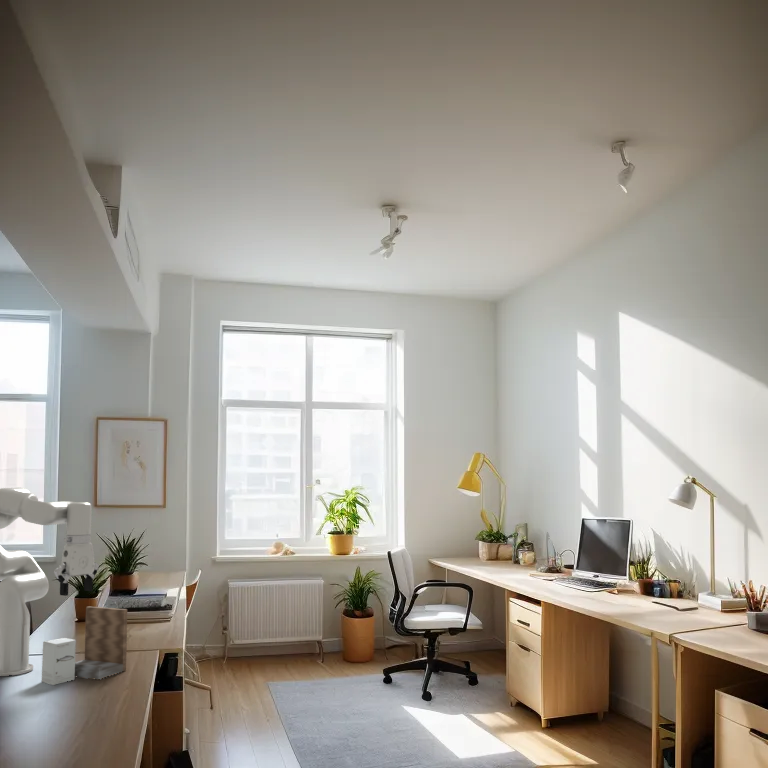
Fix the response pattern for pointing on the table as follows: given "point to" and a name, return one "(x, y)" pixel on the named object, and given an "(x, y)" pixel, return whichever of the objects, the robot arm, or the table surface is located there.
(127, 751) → the table surface
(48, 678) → the supplement box
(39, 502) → the robot arm
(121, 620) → the bookend
